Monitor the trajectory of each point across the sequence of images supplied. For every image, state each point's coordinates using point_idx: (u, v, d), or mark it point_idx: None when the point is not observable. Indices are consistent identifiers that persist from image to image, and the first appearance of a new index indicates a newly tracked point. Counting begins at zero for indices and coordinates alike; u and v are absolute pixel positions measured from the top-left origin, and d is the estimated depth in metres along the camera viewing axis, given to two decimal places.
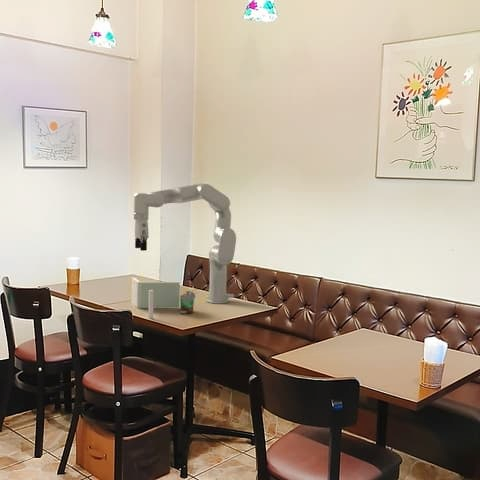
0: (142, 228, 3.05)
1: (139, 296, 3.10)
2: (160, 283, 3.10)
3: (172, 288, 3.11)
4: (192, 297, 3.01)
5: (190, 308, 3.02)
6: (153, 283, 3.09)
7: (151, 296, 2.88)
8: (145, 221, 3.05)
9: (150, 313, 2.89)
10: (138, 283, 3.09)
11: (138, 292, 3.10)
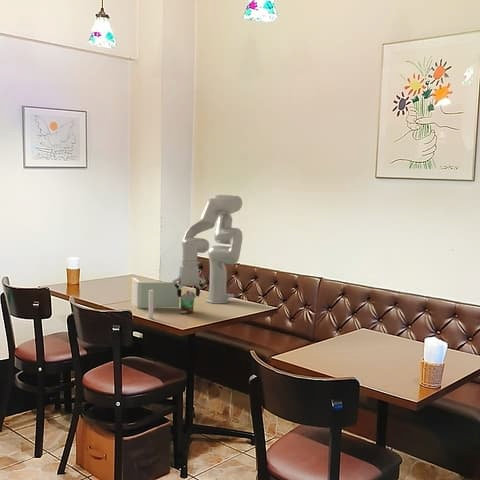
0: None
1: (139, 296, 3.10)
2: (160, 283, 3.10)
3: (172, 288, 3.11)
4: (192, 297, 3.01)
5: (190, 308, 3.02)
6: (153, 283, 3.09)
7: (151, 296, 2.88)
8: None
9: (150, 313, 2.89)
10: (138, 283, 3.09)
11: (138, 292, 3.10)
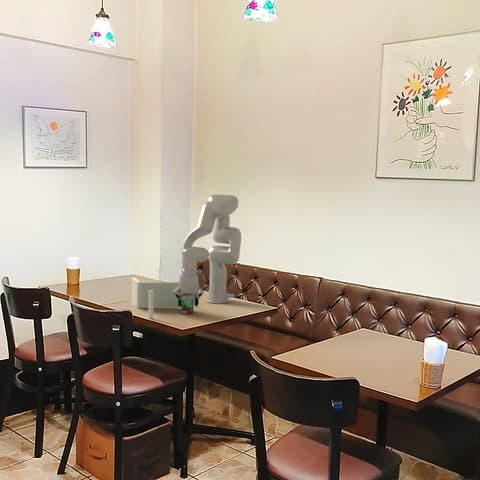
0: None
1: (139, 296, 3.10)
2: (160, 283, 3.10)
3: (172, 288, 3.11)
4: (193, 297, 3.01)
5: (191, 308, 3.02)
6: (153, 283, 3.09)
7: (151, 296, 2.88)
8: None
9: (150, 313, 2.89)
10: (138, 283, 3.09)
11: (138, 292, 3.10)
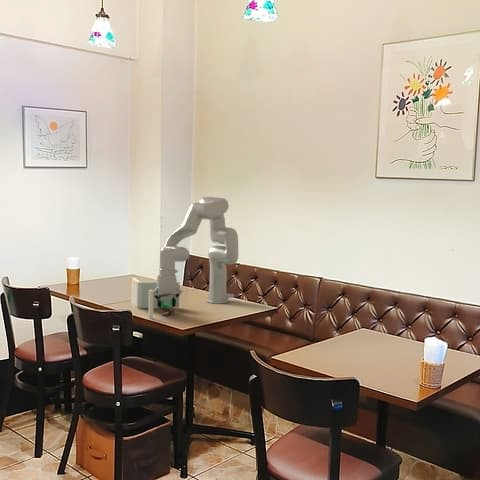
0: None
1: (139, 296, 3.10)
2: None
3: None
4: (171, 296, 2.98)
5: (171, 308, 2.98)
6: (153, 283, 3.09)
7: (151, 296, 2.88)
8: None
9: (150, 313, 2.89)
10: (138, 283, 3.09)
11: (138, 292, 3.10)
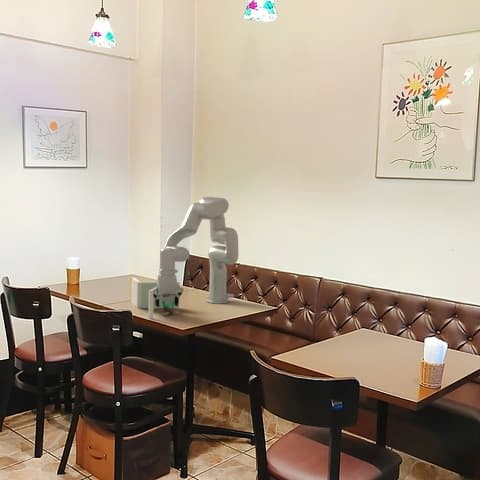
0: None
1: (139, 296, 3.10)
2: None
3: None
4: (173, 297, 2.98)
5: (172, 309, 2.98)
6: (153, 283, 3.09)
7: (151, 296, 2.88)
8: None
9: (150, 313, 2.89)
10: (138, 283, 3.09)
11: (138, 292, 3.10)
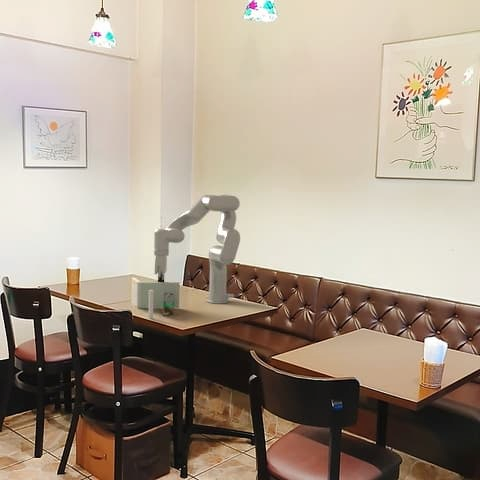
0: None
1: (139, 296, 3.10)
2: (160, 283, 3.09)
3: (172, 288, 3.10)
4: (174, 298, 2.98)
5: (172, 309, 2.99)
6: (153, 283, 3.09)
7: (151, 296, 2.88)
8: None
9: (150, 313, 2.89)
10: (138, 283, 3.09)
11: (138, 292, 3.10)
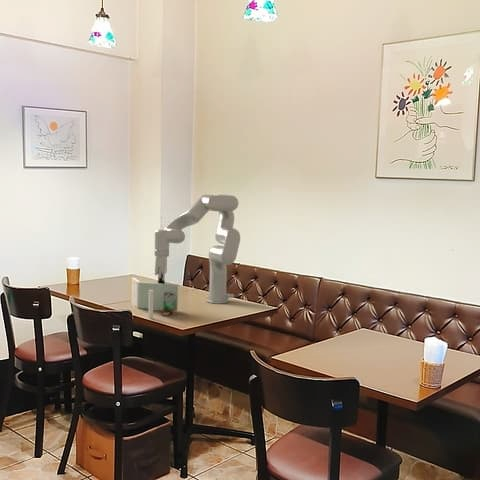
0: None
1: (139, 296, 3.10)
2: (158, 284, 3.06)
3: (170, 290, 3.05)
4: (174, 298, 2.98)
5: (172, 309, 2.99)
6: (152, 284, 3.07)
7: (151, 296, 2.88)
8: None
9: (150, 313, 2.89)
10: (138, 283, 3.09)
11: (138, 292, 3.10)
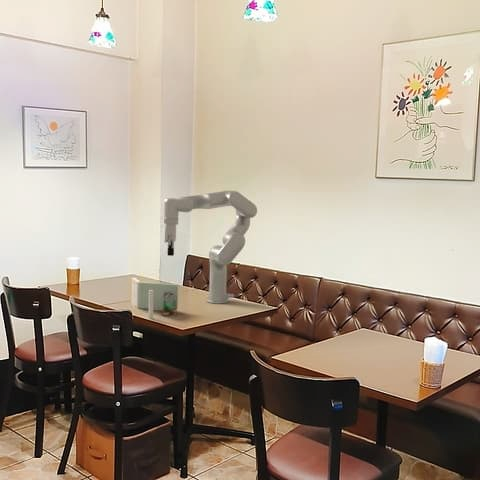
0: None
1: (139, 296, 3.10)
2: (158, 284, 3.06)
3: (170, 290, 3.05)
4: (174, 298, 2.98)
5: (172, 309, 2.99)
6: (152, 284, 3.07)
7: (151, 296, 2.88)
8: None
9: (150, 313, 2.89)
10: (138, 283, 3.09)
11: (138, 292, 3.10)
